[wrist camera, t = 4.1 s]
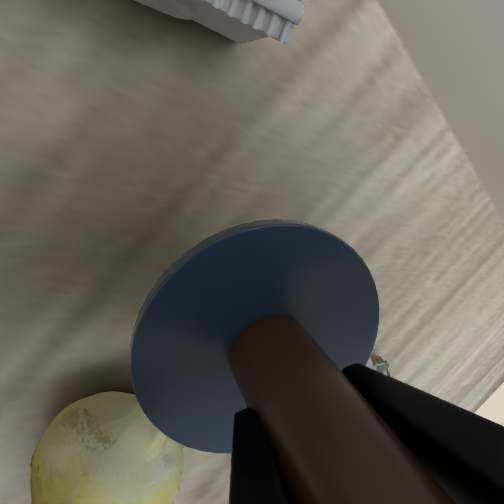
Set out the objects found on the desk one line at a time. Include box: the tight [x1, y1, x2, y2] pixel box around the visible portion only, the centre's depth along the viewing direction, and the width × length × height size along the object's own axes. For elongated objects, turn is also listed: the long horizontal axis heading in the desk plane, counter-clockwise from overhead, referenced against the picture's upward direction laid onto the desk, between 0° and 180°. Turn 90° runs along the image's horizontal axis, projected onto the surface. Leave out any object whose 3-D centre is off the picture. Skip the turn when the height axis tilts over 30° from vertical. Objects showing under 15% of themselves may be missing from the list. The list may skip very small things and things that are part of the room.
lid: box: [130, 219, 456, 504], centre depth 7 cm, size 8×8×8 cm
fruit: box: [30, 391, 183, 504], centre depth 15 cm, size 6×6×10 cm
